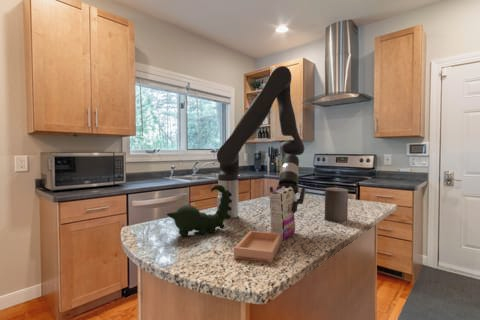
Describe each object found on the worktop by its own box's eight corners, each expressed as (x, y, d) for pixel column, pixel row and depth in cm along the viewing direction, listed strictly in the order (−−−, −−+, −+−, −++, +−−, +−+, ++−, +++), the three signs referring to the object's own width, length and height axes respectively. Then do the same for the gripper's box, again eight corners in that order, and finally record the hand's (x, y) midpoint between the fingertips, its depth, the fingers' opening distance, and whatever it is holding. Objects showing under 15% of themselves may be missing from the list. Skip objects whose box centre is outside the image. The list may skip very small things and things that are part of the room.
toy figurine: (222, 229, 109) (161, 234, 96) (225, 183, 109) (165, 182, 96) (233, 235, 101) (168, 241, 88) (237, 186, 101) (173, 185, 88)
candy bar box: (282, 230, 102) (281, 188, 101) (295, 232, 99) (293, 188, 99) (270, 238, 92) (268, 191, 92) (284, 240, 89) (282, 192, 89)
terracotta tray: (233, 258, 75) (233, 247, 75) (250, 239, 92) (249, 230, 91) (272, 262, 72) (272, 252, 72) (281, 242, 88) (281, 233, 88)
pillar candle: (320, 220, 117) (321, 186, 116) (329, 215, 124) (329, 184, 124) (343, 224, 111) (344, 188, 110) (350, 219, 118) (351, 185, 117)
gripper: (270, 170, 107) (264, 204, 96) (306, 170, 103) (304, 207, 92) (272, 181, 113) (267, 216, 102) (307, 182, 108) (305, 218, 97)
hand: (285, 211), depth 97 cm, fingers closed on candy bar box, 6 cm apart
